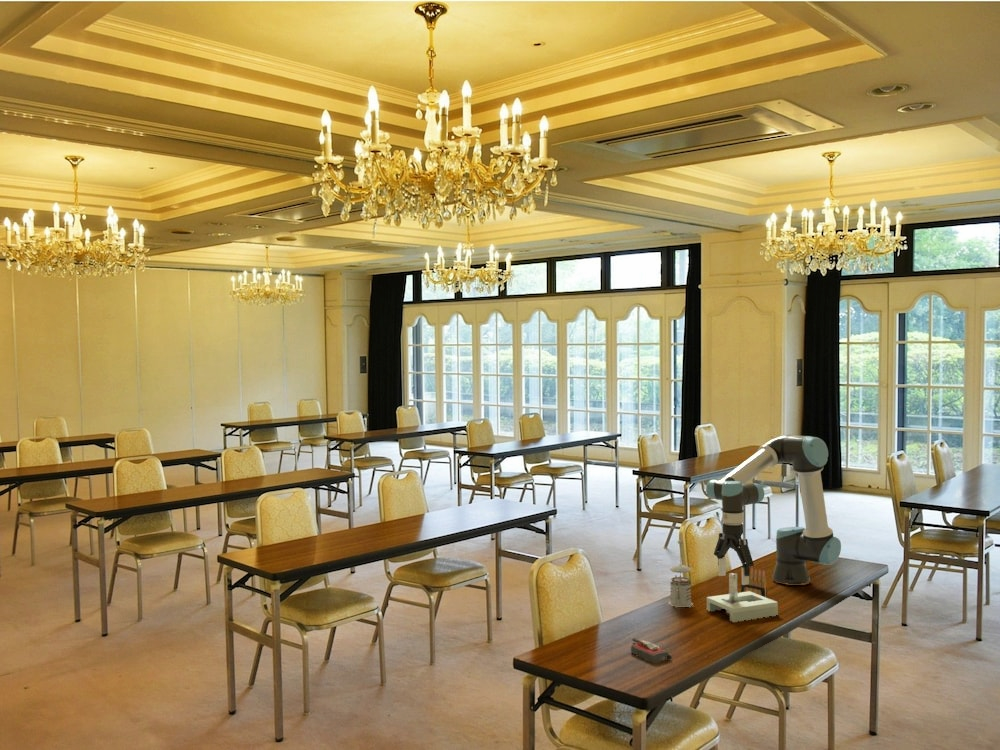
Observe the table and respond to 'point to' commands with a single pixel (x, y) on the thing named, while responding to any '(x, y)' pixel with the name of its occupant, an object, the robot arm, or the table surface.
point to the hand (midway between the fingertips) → (733, 579)
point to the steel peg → (732, 589)
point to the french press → (680, 586)
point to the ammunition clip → (756, 583)
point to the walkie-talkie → (649, 651)
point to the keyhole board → (744, 606)
